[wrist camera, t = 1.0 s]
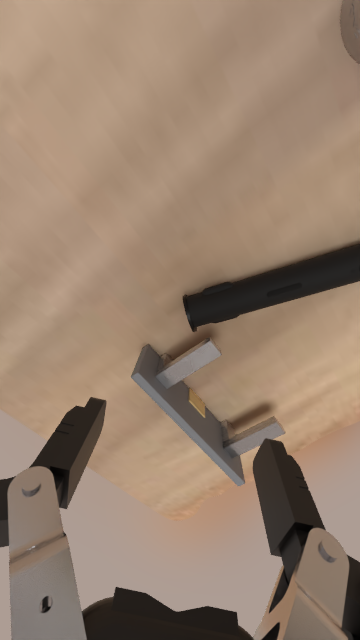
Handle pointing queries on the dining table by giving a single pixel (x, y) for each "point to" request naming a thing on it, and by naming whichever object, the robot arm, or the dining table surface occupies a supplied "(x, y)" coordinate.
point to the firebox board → (187, 413)
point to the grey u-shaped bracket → (232, 444)
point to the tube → (273, 287)
